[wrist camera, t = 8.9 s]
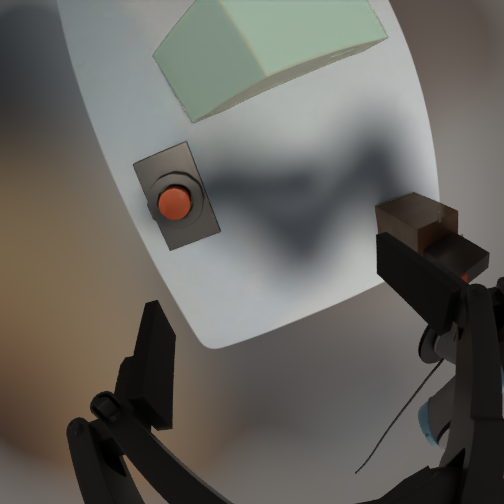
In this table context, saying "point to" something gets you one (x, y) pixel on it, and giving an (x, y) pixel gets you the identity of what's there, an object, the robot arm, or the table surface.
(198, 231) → the button box
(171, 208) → the button
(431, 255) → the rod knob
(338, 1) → the sage hexagonal prism
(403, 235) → the pegged wooden cube
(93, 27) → the table surface
